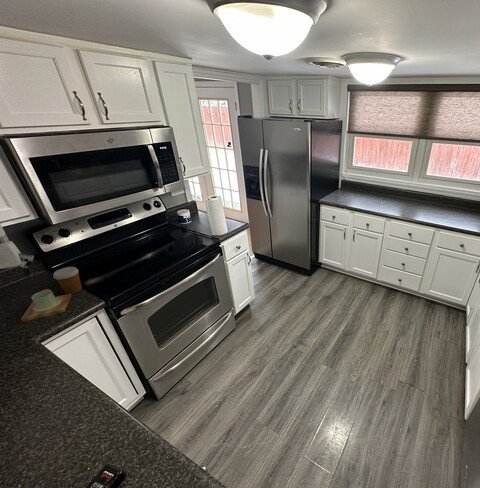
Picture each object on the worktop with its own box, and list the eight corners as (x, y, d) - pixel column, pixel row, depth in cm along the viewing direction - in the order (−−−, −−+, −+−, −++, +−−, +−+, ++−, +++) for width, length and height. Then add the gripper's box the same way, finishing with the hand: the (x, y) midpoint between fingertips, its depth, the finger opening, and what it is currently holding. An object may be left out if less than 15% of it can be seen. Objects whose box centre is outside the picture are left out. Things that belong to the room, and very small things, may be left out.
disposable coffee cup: (65, 298, 131) (55, 278, 126) (59, 292, 136) (49, 272, 131) (89, 289, 139) (80, 270, 133) (82, 283, 143) (73, 264, 138)
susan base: (22, 321, 116) (20, 319, 115) (33, 304, 127) (32, 301, 126) (64, 312, 123) (62, 309, 122) (71, 295, 133) (70, 293, 133)
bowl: (57, 308, 122) (52, 297, 120) (29, 314, 118) (22, 303, 115) (63, 296, 130) (58, 286, 127) (37, 302, 126) (31, 291, 123)
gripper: (-46, 248, 96) (-23, 287, 103) (20, 240, 104) (38, 277, 111) (-35, 241, 102) (-13, 278, 109) (27, 234, 110) (44, 269, 117)
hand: (13, 278), depth 110 cm, fingers open, 9 cm apart
